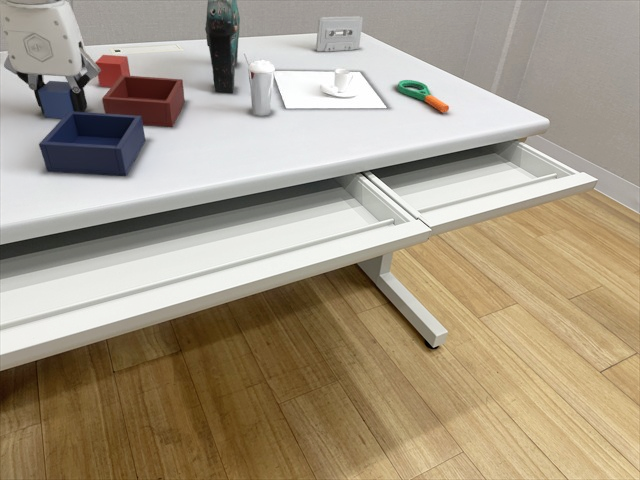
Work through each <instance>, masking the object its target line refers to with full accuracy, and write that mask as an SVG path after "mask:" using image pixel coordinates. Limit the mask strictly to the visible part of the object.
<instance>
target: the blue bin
mask: <svg viewBox="0 0 640 480" xmlns="http://www.w3.org/2000/svg"><path fill="white" fill-rule="evenodd" d="M145 143H146V135H145V129H144V125H143V121H142V116H135V115H119V114H105V112H104V113H102V112H88V111H84V112H73V111H69V112H68V113H67V114H66V115H65V116H64V117H63V119H62V118H61V119H60V120H59V122H58V123H57V124H56V125H55V126H54V127H53V128H52V129H51V130H50V131H49V132H48V134H46V136H45V137H44V138H43V139H42V140H41V141H40V142H39V143H38V146H39V149H40V153H41V155H42V159H43V162H44V165H45V169H46V172H50V173H51V172H52V173H67V174H69V173H71V174H84V175H85V174H86V175H103V176H105V175H107V176H121V177H123V176H124V177H126V176H127V175H128V174H129V172H130V170H131V168H132V166H133V165H134V163H135V161H136V159H137V158H138V155H139V154H140V153H141V150H142V148H143V146H144V145H145Z"/></svg>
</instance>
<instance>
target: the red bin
mask: <svg viewBox="0 0 640 480" xmlns="http://www.w3.org/2000/svg"><path fill="white" fill-rule="evenodd" d="M101 102H102V106H103V111H104V114H119V115H135V116H142V121H143V126H151V127H164V128H165V127H166V128H173V127H174V125H175V123H176V120H177V119H178V117H179V115H180V113H181V110H182V109H183V107H184V104H185V103H186V102H185V90H184V81H183V79H182V78H181V79H180V78H168V77H153V76H139V75H130V76H127V75H121V76H120V78H119V79H118V80H117V81H116V82H115V83H114V85H113V86H112V87H109V89H108V91H107V92H106V93H105V94H104V95H103V96H102V97H101Z"/></svg>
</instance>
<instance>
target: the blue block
mask: <svg viewBox="0 0 640 480" xmlns="http://www.w3.org/2000/svg"><path fill="white" fill-rule="evenodd" d="M71 92H72V89H71V87H70V85H69V83H68V81H61V80H60V81H59V80H48V81H47V82H46V83H45V85H44V86H43V87H42V88H41V89H39V90H38V93H39V97H40V100H41V104H42V107H43V110H44V114H43V115H44V117H45V119H46V118H50V119H61V120H62V119H63V117H64V116H65V115H66V114H67V113H68V112H69V111H73V112H74V109H73V105H72V101H71V97H70V93H71Z"/></svg>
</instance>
